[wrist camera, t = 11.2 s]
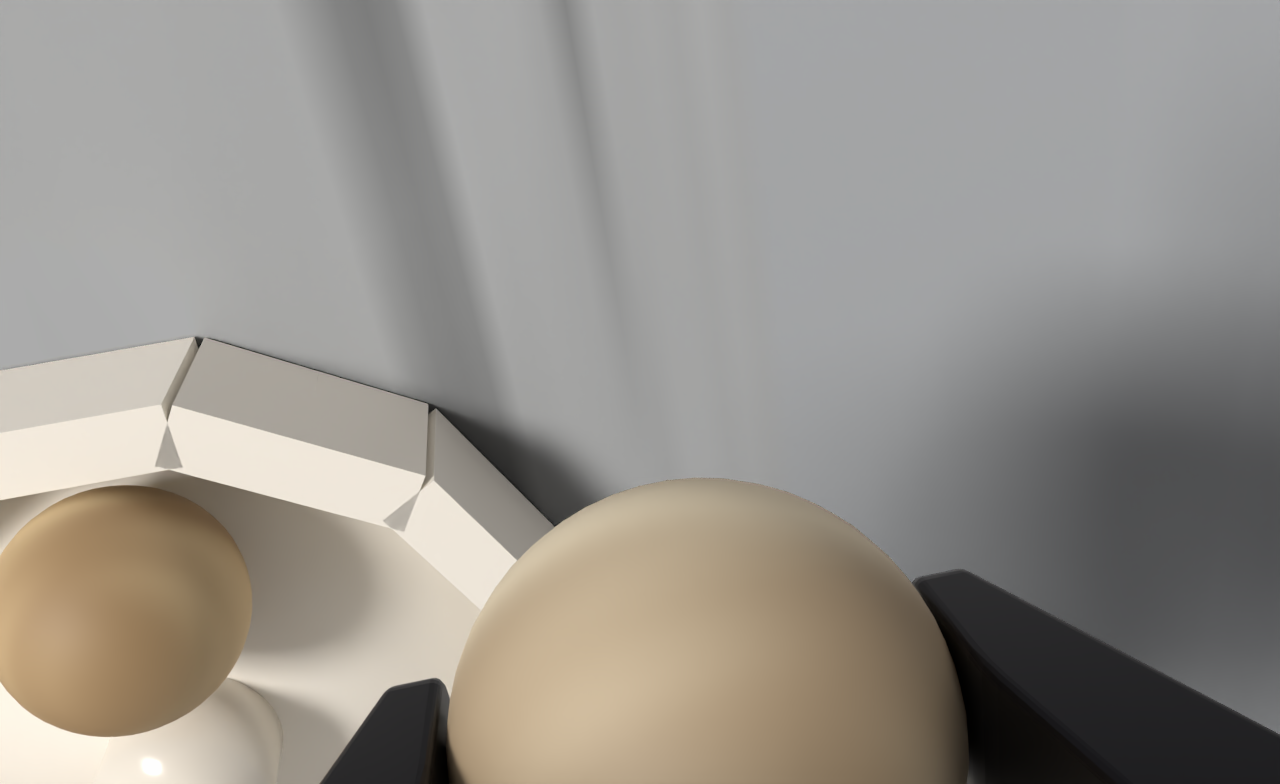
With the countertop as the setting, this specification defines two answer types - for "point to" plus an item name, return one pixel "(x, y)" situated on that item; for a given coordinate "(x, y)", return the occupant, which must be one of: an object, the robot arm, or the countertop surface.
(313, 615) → the groove tray
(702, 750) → the maple bead
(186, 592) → the oak bead
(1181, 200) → the countertop surface
